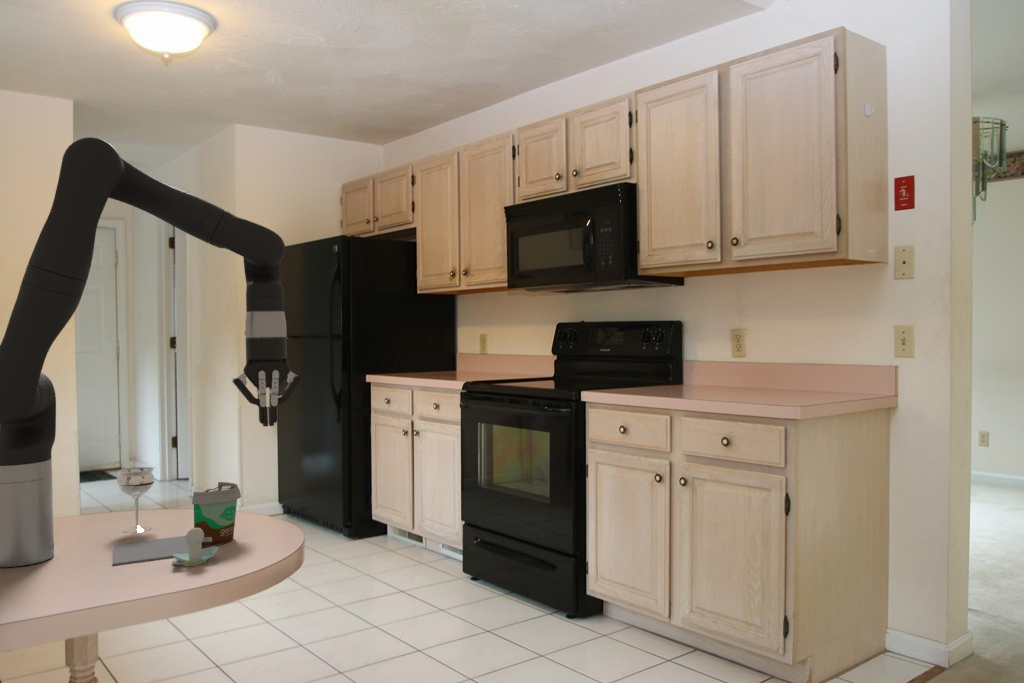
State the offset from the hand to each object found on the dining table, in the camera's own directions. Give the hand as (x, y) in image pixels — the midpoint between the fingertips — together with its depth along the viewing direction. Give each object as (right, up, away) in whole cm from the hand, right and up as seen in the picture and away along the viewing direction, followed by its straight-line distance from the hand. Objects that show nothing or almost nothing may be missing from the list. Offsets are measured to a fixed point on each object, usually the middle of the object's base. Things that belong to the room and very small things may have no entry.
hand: (268, 425), depth 149 cm
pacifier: (-7, -22, -17) cm, 29 cm away
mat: (-17, -22, -9) cm, 29 cm away
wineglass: (-29, -22, +7) cm, 37 cm away
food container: (-8, -21, -4) cm, 23 cm away
